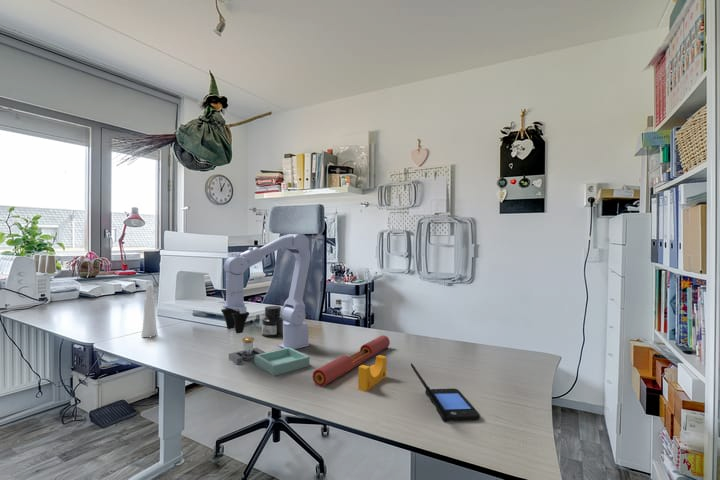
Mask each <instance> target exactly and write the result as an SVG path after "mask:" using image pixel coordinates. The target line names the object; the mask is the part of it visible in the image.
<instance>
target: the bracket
mask: <svg viewBox="0 0 720 480" xmlns="http://www.w3.org/2000/svg"><path fill="white" fill-rule="evenodd" d="M253 353H254V354H255V355H258V354H262V353H266V351H264V350H262V349H261V348H258V347H253ZM242 354H243V350H239V351H235V352H231V353H228V360H230V361H232V362H233V364H235V365H240V364H243V363H244V361H243V358H242V357H241V355H242Z"/></svg>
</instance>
